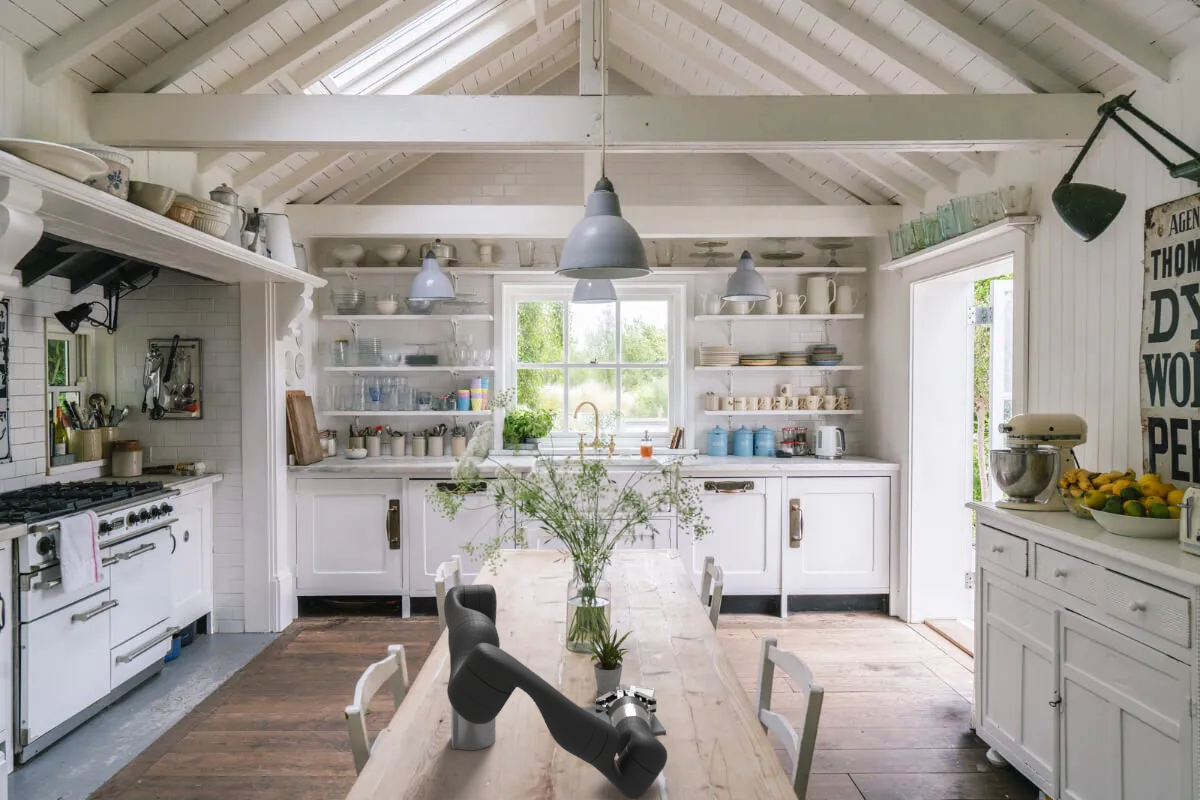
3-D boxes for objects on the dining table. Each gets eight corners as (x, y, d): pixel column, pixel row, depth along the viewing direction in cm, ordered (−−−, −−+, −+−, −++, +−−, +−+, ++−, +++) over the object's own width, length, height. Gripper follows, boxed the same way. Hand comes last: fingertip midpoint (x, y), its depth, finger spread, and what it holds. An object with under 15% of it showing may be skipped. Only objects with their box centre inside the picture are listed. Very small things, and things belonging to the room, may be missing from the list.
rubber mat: (575, 742, 170) (575, 739, 170) (562, 711, 185) (562, 709, 185) (665, 733, 174) (665, 730, 174) (645, 704, 190) (645, 701, 190)
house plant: (564, 696, 194) (564, 629, 194) (586, 676, 207) (586, 614, 207) (620, 705, 189) (620, 636, 189) (638, 684, 202) (639, 620, 202)
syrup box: (619, 736, 171) (628, 708, 185) (647, 740, 170) (653, 711, 184) (621, 710, 170) (629, 684, 185) (648, 714, 169) (655, 687, 184)
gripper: (595, 743, 153) (590, 706, 170) (664, 743, 153) (653, 706, 171) (595, 704, 152) (591, 671, 170) (664, 704, 153) (653, 671, 171)
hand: (622, 688), depth 170 cm, fingers closed
